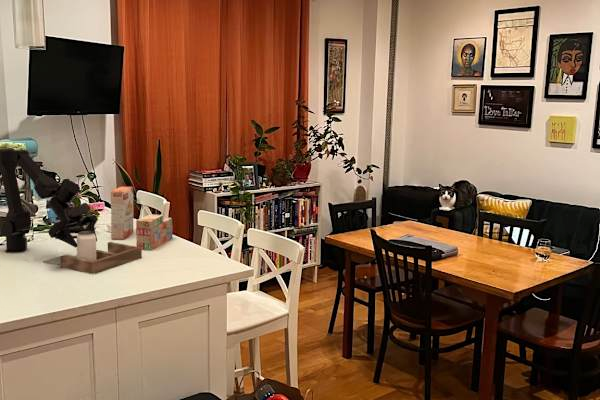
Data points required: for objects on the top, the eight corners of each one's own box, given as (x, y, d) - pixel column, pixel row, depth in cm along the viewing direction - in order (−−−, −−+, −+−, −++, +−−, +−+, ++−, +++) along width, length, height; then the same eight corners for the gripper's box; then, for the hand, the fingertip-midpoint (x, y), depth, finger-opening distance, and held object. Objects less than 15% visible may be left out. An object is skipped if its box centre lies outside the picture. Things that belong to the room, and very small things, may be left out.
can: (80, 262, 213) (79, 230, 211) (98, 262, 214) (97, 230, 212) (75, 267, 207) (74, 234, 205) (94, 267, 207) (93, 235, 205)
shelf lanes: (60, 267, 207) (60, 256, 206) (110, 251, 229) (110, 241, 228) (93, 274, 200) (93, 262, 200) (141, 257, 222) (141, 247, 222)
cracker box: (124, 240, 248) (124, 191, 244) (110, 239, 248) (109, 190, 244) (134, 232, 261) (134, 186, 258) (121, 232, 261) (120, 185, 258)
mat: (43, 262, 212) (43, 261, 212) (67, 255, 222) (67, 254, 222) (62, 266, 208) (62, 265, 208) (85, 259, 218) (85, 258, 218)
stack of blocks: (159, 237, 254) (159, 209, 252) (172, 238, 253) (172, 210, 251) (136, 249, 234) (135, 219, 231) (150, 251, 232) (150, 220, 230)
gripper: (52, 200, 200) (77, 235, 197) (93, 193, 217) (117, 225, 214) (37, 220, 205) (61, 255, 202) (78, 211, 221) (101, 243, 218)
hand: (86, 244), depth 209 cm, fingers open, 9 cm apart
